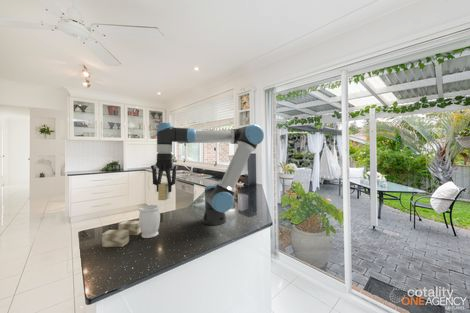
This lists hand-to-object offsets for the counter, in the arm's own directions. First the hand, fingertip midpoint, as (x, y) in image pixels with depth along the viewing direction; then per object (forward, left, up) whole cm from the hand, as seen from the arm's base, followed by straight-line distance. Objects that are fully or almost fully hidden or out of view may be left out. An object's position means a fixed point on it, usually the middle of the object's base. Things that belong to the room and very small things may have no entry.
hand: (164, 198), depth 105 cm
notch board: (+21, +1, -20) cm, 29 cm away
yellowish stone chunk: (0, 0, 0) cm, 0 cm away
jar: (+9, -3, -21) cm, 23 cm away
